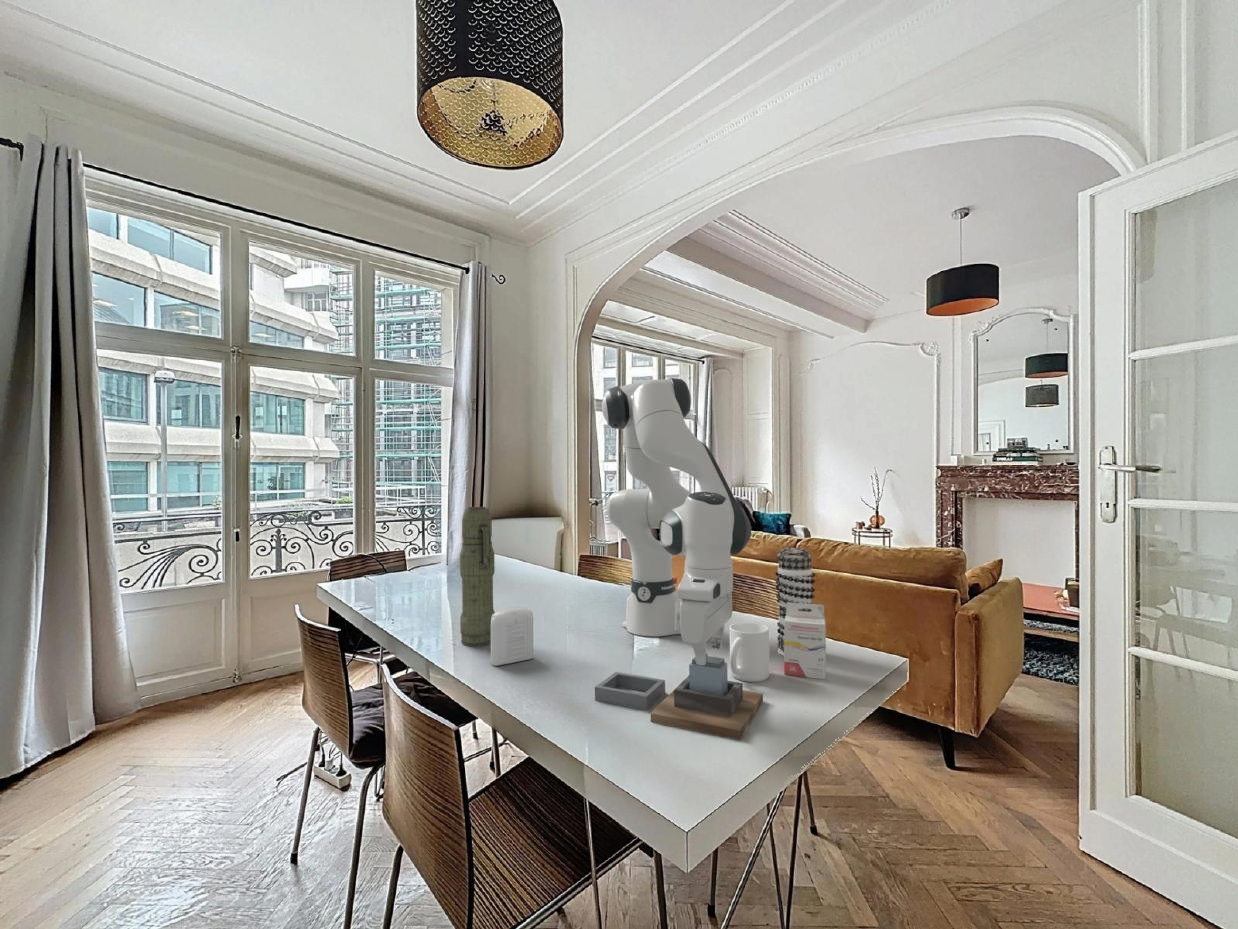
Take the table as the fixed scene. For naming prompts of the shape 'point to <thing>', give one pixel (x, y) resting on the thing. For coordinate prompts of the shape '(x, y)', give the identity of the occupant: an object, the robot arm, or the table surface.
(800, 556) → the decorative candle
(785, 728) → the table surface
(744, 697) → the dock
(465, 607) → the thermos
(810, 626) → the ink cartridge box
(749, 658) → the mug
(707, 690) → the plug
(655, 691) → the grey rectangular frame
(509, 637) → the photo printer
